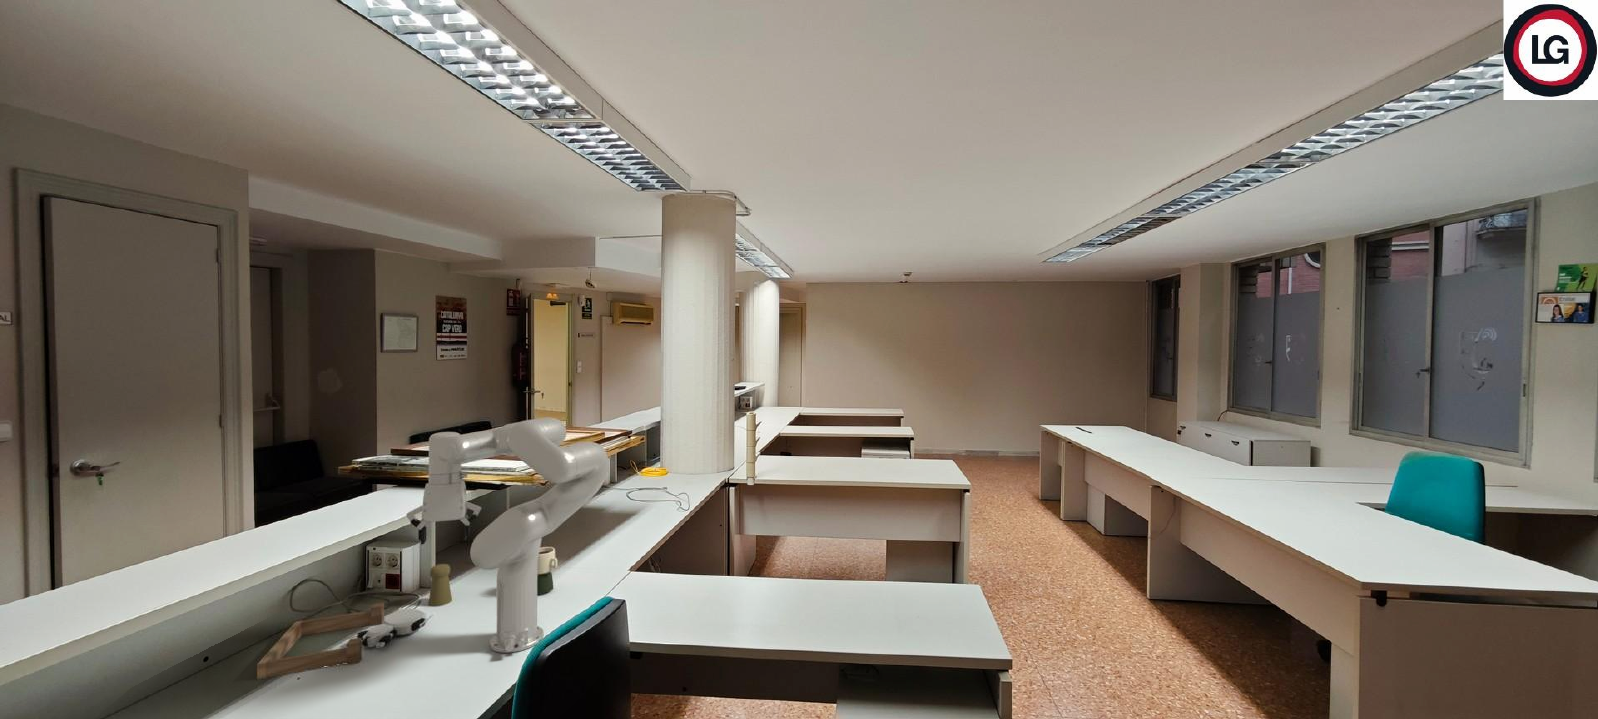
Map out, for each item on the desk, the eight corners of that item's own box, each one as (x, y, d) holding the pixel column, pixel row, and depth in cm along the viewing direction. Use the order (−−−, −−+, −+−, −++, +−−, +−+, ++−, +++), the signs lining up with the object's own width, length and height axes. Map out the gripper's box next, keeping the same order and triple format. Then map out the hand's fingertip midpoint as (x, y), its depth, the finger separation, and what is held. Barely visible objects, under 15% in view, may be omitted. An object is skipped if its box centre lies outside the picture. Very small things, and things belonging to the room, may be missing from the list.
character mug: (564, 589, 180) (565, 548, 179) (548, 598, 173) (548, 556, 173) (537, 584, 183) (537, 544, 183) (520, 593, 176) (520, 552, 176)
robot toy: (381, 659, 141) (436, 626, 155) (379, 641, 140) (435, 610, 155) (346, 650, 145) (403, 619, 159) (345, 633, 144) (402, 604, 158)
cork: (426, 601, 171) (426, 564, 170) (450, 595, 174) (450, 560, 174) (429, 608, 166) (429, 570, 166) (453, 602, 170) (453, 566, 170)
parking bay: (358, 662, 137) (358, 642, 137) (255, 680, 129) (255, 659, 129) (383, 620, 158) (383, 602, 158) (296, 633, 151) (296, 614, 151)
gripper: (483, 473, 161) (482, 533, 161) (410, 477, 154) (409, 539, 154) (479, 479, 154) (479, 541, 154) (403, 483, 147) (403, 549, 147)
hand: (444, 540), depth 154 cm, fingers open, 9 cm apart
